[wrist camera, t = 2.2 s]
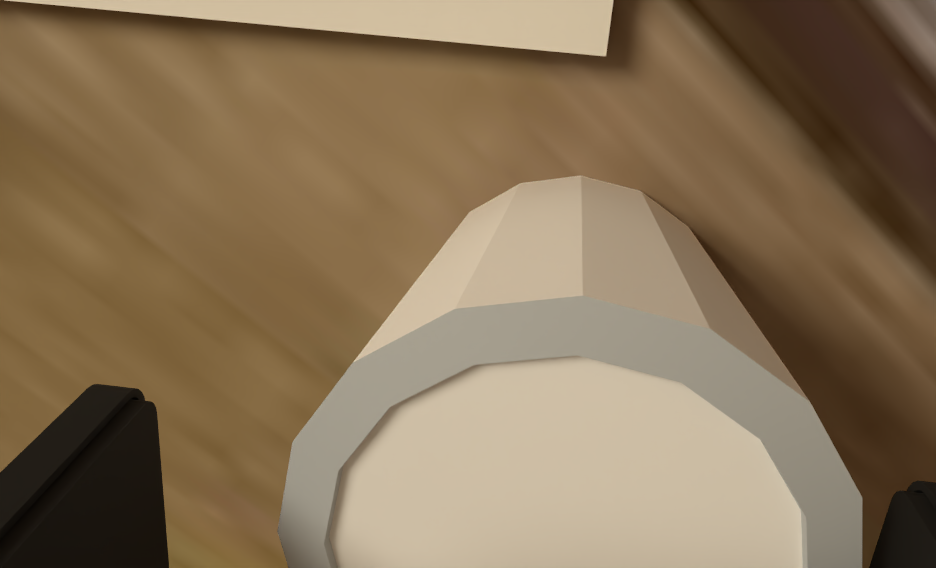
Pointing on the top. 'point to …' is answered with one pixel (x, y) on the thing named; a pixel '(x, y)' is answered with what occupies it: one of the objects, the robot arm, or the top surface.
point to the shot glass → (569, 411)
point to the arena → (406, 18)
